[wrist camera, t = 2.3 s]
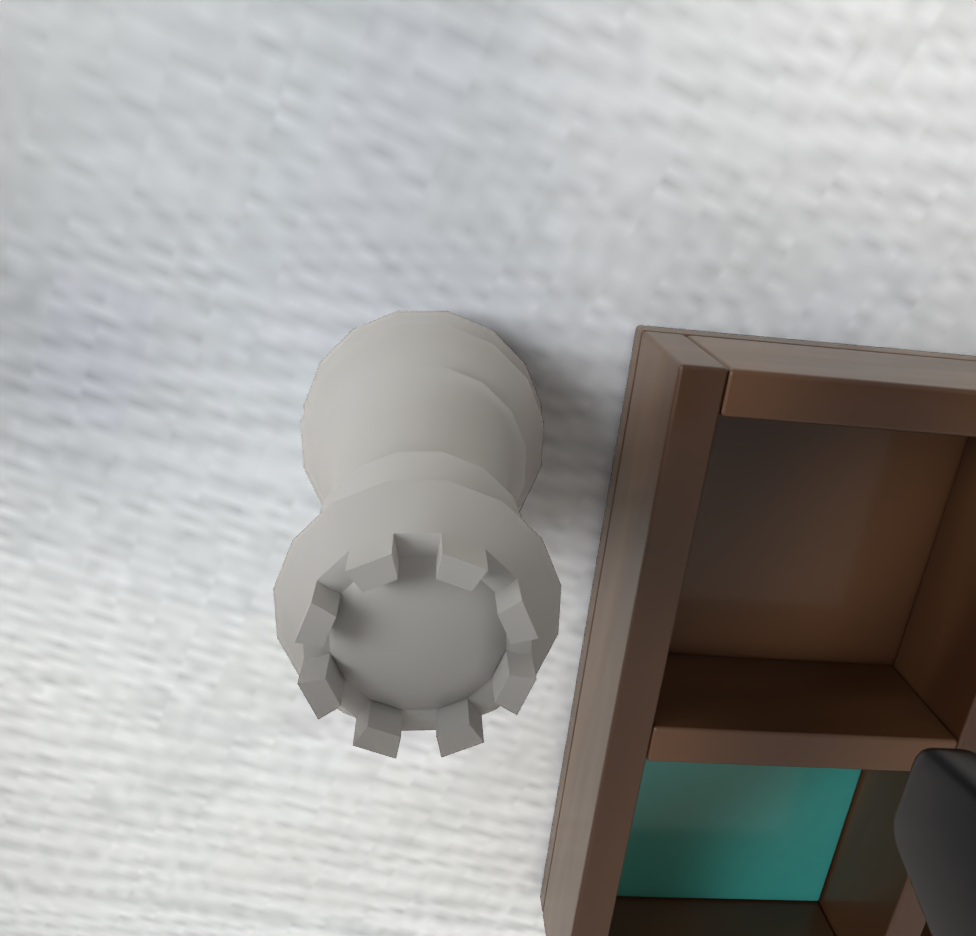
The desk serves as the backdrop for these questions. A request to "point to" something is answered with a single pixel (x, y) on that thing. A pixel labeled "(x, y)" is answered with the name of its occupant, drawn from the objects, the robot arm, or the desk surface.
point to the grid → (768, 639)
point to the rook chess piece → (419, 534)
